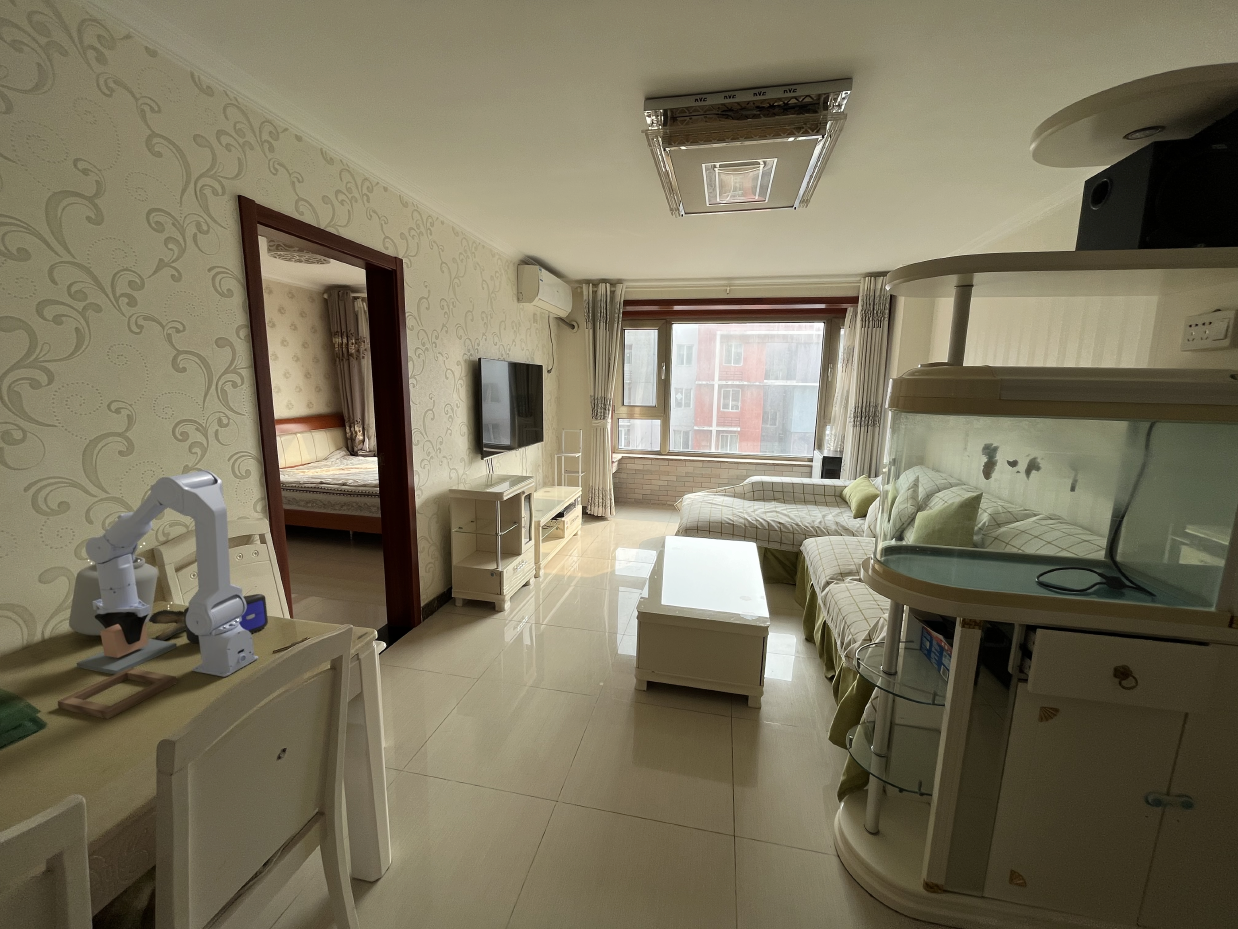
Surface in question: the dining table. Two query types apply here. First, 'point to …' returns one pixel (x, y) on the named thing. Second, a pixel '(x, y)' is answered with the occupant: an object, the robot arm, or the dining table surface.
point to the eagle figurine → (166, 618)
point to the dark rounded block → (243, 616)
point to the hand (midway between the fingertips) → (126, 641)
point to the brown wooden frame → (79, 703)
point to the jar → (90, 591)
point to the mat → (126, 658)
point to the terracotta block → (120, 641)
